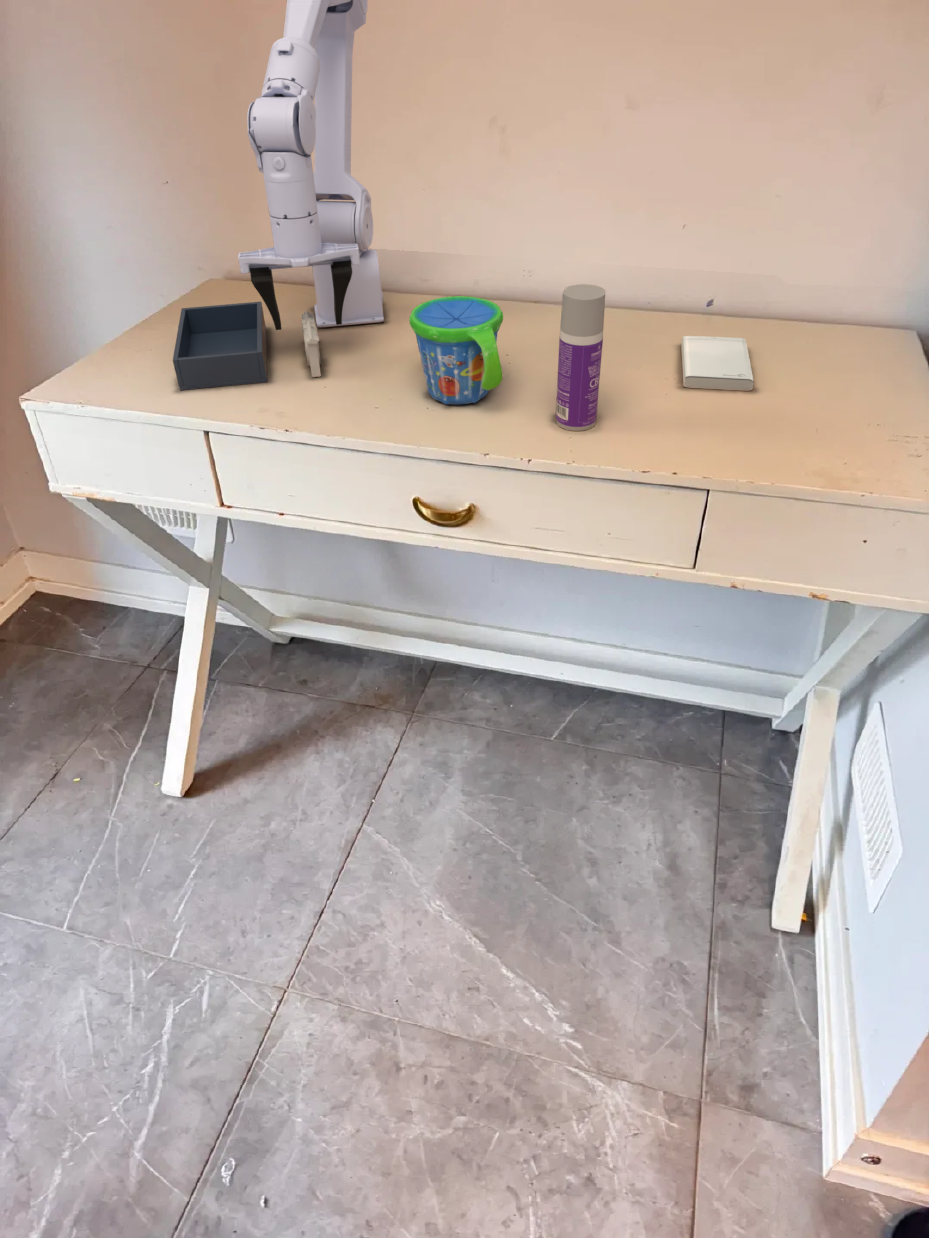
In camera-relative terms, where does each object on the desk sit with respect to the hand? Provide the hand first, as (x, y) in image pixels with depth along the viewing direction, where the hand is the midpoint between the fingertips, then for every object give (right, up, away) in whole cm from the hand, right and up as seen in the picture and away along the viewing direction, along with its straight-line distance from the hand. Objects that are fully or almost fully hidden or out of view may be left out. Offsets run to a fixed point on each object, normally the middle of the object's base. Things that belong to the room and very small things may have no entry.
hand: (308, 324), depth 115 cm
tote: (-12, -3, +4) cm, 13 cm away
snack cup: (+19, -10, -5) cm, 23 cm away
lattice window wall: (0, -4, +3) cm, 5 cm away
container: (+33, -15, -11) cm, 38 cm away
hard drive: (+52, -6, -1) cm, 52 cm away
